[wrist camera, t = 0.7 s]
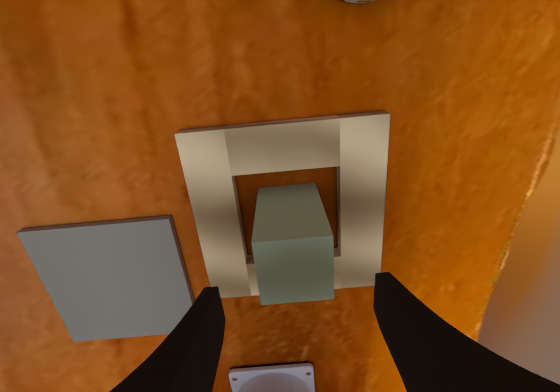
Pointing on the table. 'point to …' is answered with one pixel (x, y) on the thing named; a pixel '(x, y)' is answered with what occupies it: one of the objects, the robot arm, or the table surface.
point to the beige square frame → (285, 157)
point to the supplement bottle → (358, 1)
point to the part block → (292, 245)
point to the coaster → (112, 276)
